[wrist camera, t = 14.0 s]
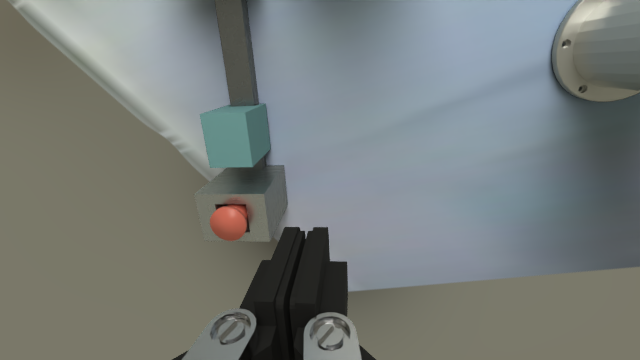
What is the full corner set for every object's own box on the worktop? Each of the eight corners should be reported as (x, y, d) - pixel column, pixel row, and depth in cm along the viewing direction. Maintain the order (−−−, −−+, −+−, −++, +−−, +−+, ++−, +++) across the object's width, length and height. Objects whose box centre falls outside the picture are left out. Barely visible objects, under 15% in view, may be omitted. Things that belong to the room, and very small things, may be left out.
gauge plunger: (255, 191, 36) (242, 208, 31) (259, 220, 37) (247, 241, 33) (224, 191, 36) (206, 208, 32) (229, 220, 38) (213, 240, 33)
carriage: (265, 103, 38) (245, 112, 31) (270, 148, 40) (252, 167, 33) (228, 105, 39) (199, 114, 32) (235, 149, 41) (210, 167, 34)
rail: (243, -23, 34) (237, -28, 32) (266, 165, 42) (262, 170, 40) (218, -21, 34) (210, -25, 32) (245, 165, 42) (240, 170, 40)
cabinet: (283, 165, 42) (263, 194, 32) (287, 204, 44) (270, 241, 34) (228, 166, 42) (194, 194, 33) (235, 204, 45) (204, 240, 35)
